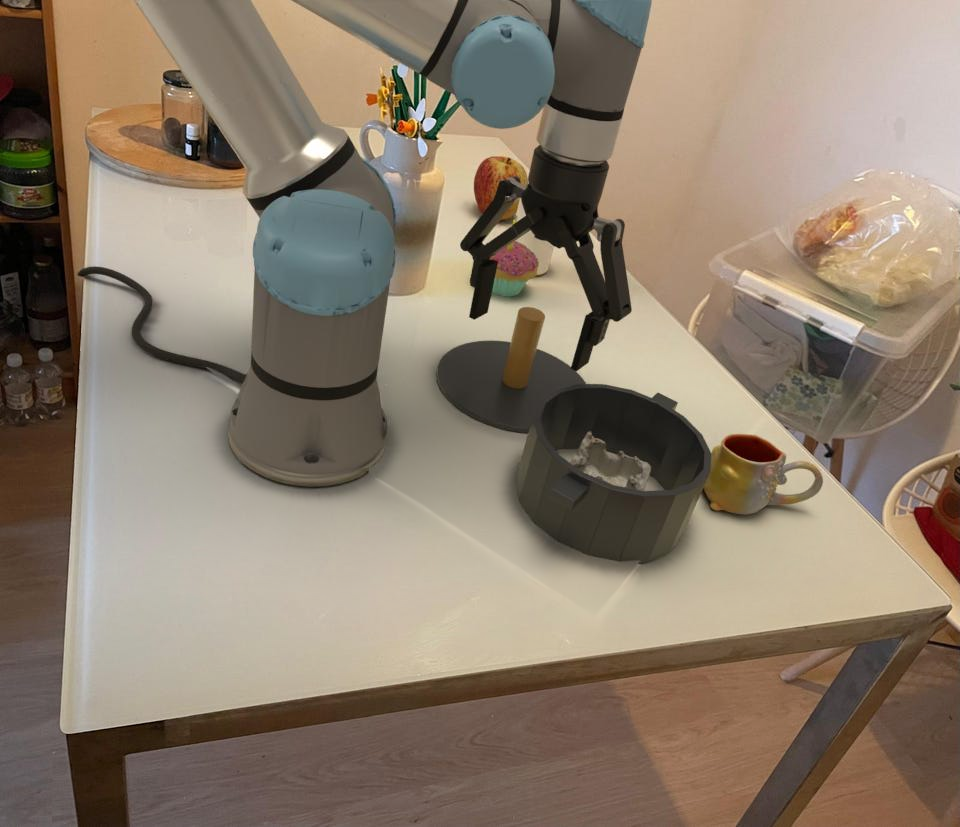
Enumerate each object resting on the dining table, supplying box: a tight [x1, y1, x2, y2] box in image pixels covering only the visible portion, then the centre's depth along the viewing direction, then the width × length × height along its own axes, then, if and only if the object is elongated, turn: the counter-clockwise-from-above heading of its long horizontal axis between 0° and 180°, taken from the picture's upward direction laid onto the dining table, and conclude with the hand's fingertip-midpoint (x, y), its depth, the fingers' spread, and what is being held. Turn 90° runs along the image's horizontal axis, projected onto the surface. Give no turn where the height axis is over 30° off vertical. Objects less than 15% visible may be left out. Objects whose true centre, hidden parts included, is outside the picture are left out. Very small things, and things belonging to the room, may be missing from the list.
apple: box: [473, 155, 529, 221], centre depth 137 cm, size 9×9×10 cm
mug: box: [703, 433, 824, 516], centre depth 87 cm, size 12×7×7 cm, turn 84°
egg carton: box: [570, 431, 651, 491], centre depth 82 cm, size 11×8×4 cm
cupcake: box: [485, 214, 539, 297], centre depth 115 cm, size 9×8×12 cm
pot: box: [514, 383, 712, 565], centre depth 82 cm, size 17×22×8 cm
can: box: [515, 183, 555, 277], centre depth 123 cm, size 6×6×12 cm
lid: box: [436, 306, 587, 434], centre depth 95 cm, size 18×18×10 cm
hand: (527, 339), depth 94 cm, fingers open, 13 cm apart
